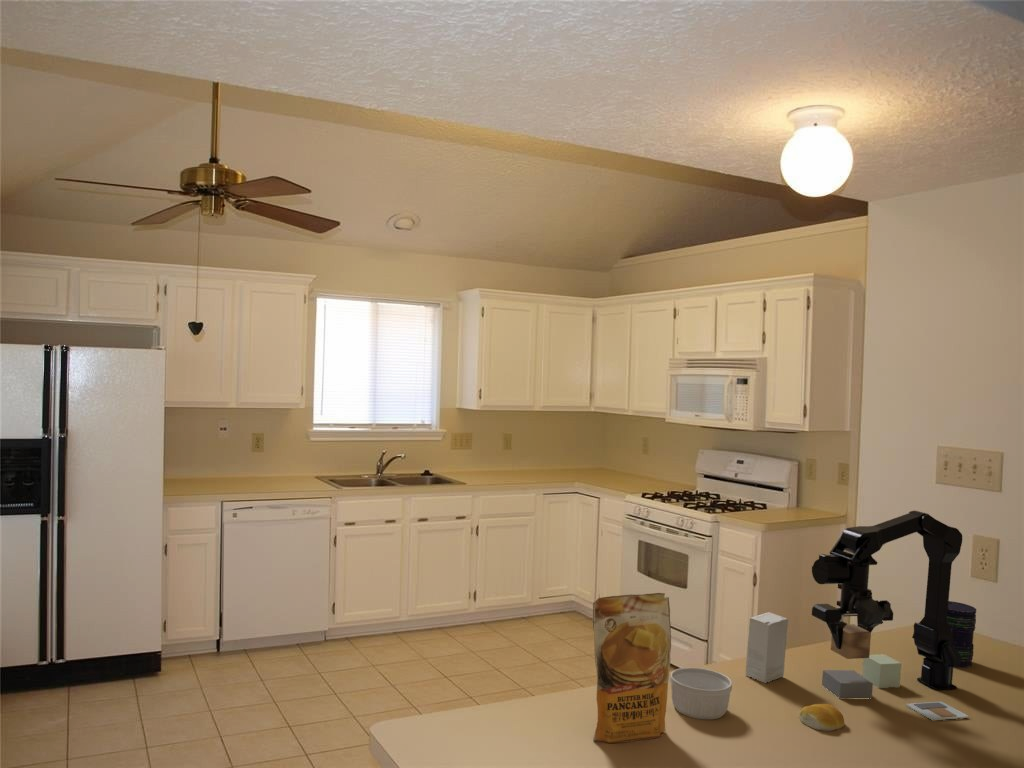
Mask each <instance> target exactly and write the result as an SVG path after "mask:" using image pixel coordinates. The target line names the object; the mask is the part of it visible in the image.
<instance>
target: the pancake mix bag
mask: <svg viewBox="0 0 1024 768" xmlns="http://www.w3.org/2000/svg"><path fill="white" fill-rule="evenodd" d="M665 594H666V593H664V592H655V593H644V594H623V595H611V596H605V597H604V596H603V597H598V598H597V599H596V600H595V601H593V603H592V604H593V605H592V619H593V620H592V628H593V629H592V630H593V632H594V633H593V636H594V638H593V639H594V641H593V642H594V645H593V646H594V659H595V669H596V676H597V677H596V680H597V681H596V704H597V722H596V728H595V731H594V735H593V741H598V742H600V741H601V742H603V743H606V744H617V743H629V742H635V741H641V740H651V739H657V738H661V734H663V733H664V732H666V721H665V720H666V712H667V703H668V689H669V681H670V670H671V669H670V667H671V653H672V631H671V630H672V629H671V608H670V597H669V596H665Z"/></svg>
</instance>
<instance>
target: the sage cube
mask: <svg viewBox="0 0 1024 768" xmlns="http://www.w3.org/2000/svg"><path fill="white" fill-rule="evenodd" d="M862 659H863V661H862V673H861V674H862V675H861V676H863V677H864V678H866V679H867V680H868V681H870V682H871V683H873V686H874V685H875V686H877V687H878V688H877V687H876V688H877V689H889V688H888V687H895V688H900V686H901V685H900V684H901V674H902V673H901V672H902V662H900V661H899V660H897V659H894V658H892V657H890V656H888V655H886V654H883V653H881V654H869V658H862ZM875 686H874V687H875Z"/></svg>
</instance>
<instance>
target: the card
mask: <svg viewBox="0 0 1024 768" xmlns="http://www.w3.org/2000/svg"><path fill="white" fill-rule="evenodd" d="M906 705H907V706H908V707H910V708H911V709H910V708H909V709H910V710H912V709H913V710H912V711H914V710H915V711H917V712H919V713H920V714H922V715H924V716H926V717H927V718H929V719H931V720H942V719H956V718H969V719H970V716H969V715H967V714H966V713H964V712H962V711H960V710H958V709H957V708H954V707H953V706H950V705H949V704H947V703H945V702H943V701H929V702H928V701H927V702H914V703H913V702H912V703H910V702H909V703H905V706H906ZM907 706H906V707H907ZM908 707H907V708H908ZM915 711H914V712H915ZM917 712H916V713H917ZM919 713H918V714H919ZM920 714H919V715H920ZM922 715H921V716H922ZM924 716H923V717H924ZM926 717H925V718H926ZM927 718H926V719H927ZM929 719H928V720H929ZM931 720H930V721H931ZM956 720H957V719H956Z"/></svg>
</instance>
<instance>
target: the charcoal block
mask: <svg viewBox="0 0 1024 768" xmlns="http://www.w3.org/2000/svg"><path fill="white" fill-rule="evenodd" d="M821 681H822V682H821V686H822V685H823V686H824V688H825V689H826V688H827V689H828V690H827V689H826V690H827V691H829V692H830V691H831V692H832V693H833V694H832V693H831V692H830V693H831V694H832V695H834V694H835V695H836V696H837V697H839V698H869V699H868V700H872V698H873V686H874V685H873V683H871V682H870V681H868V680H867V679H866V678H864V677H863V676H862V675H861V674H860V673H858V672H857V671H856V670H853V669H852V670H851V669H846V670H845V669H843V670H842V669H840V670H839V669H823V670H822V679H821ZM823 686H822V687H823ZM835 695H834V696H835ZM836 696H835V697H836ZM837 697H836V698H837ZM839 698H838V699H839ZM870 698H871V699H870Z"/></svg>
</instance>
